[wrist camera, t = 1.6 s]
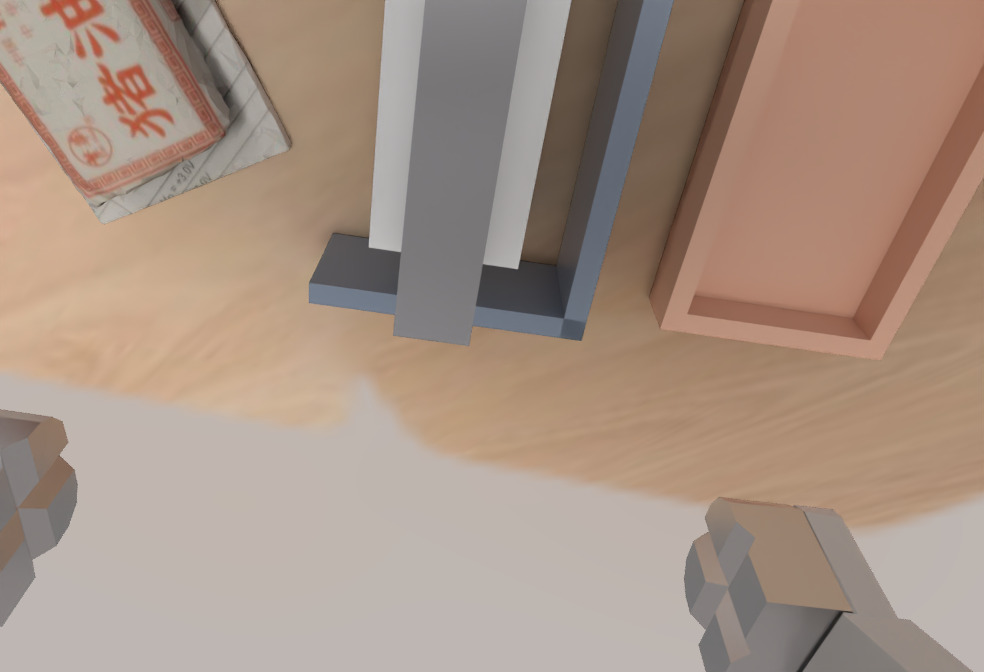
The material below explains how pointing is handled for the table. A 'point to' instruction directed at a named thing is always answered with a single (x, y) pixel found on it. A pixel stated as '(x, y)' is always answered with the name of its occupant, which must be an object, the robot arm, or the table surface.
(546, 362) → the table surface
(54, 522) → the robot arm
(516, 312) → the slate bay
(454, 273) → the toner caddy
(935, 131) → the terracotta tray
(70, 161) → the packaged product
